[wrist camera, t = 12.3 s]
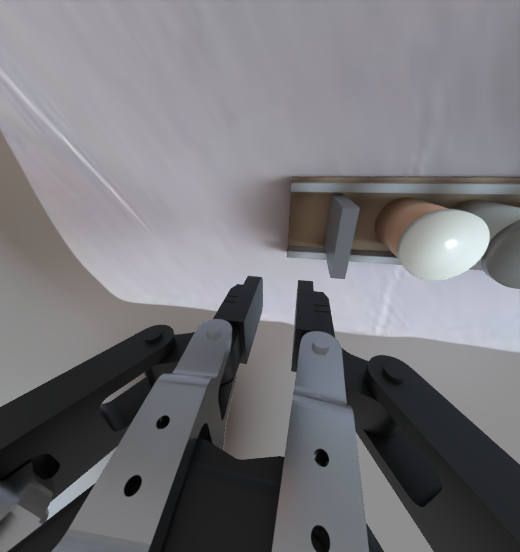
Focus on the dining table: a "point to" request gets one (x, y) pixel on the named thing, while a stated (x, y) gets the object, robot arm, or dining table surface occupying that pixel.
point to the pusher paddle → (340, 233)
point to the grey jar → (499, 240)
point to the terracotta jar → (432, 237)
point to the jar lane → (379, 207)
